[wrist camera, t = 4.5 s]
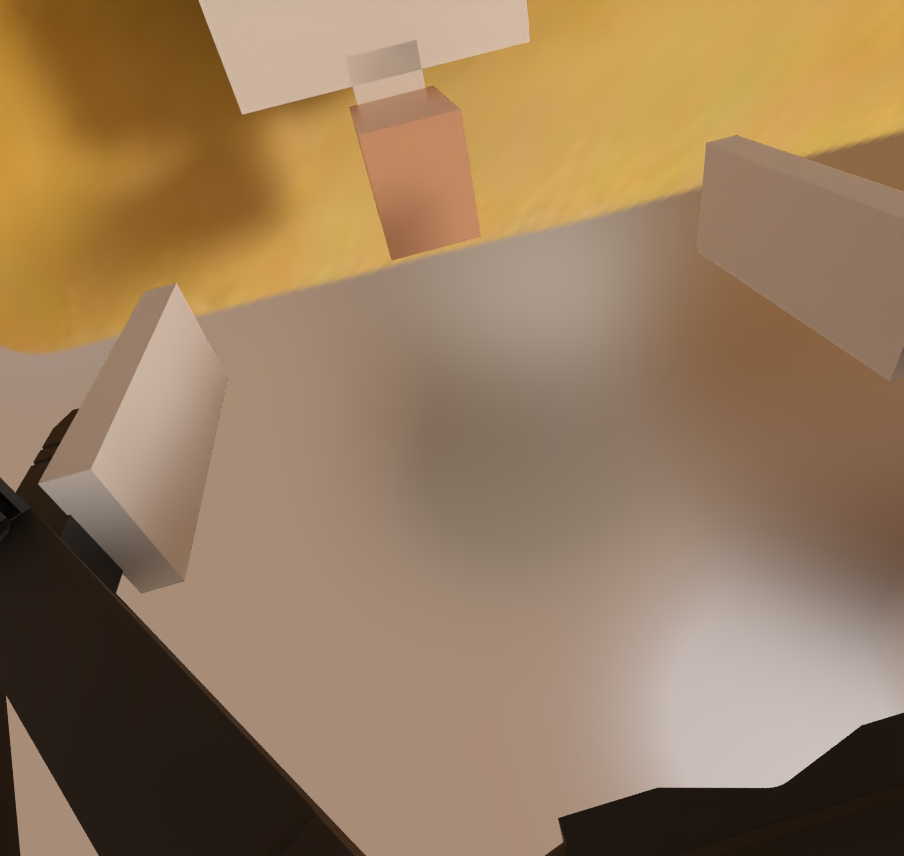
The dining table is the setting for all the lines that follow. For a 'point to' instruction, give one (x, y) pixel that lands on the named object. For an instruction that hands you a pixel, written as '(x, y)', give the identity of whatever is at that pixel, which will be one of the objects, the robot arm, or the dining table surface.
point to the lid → (376, 91)
